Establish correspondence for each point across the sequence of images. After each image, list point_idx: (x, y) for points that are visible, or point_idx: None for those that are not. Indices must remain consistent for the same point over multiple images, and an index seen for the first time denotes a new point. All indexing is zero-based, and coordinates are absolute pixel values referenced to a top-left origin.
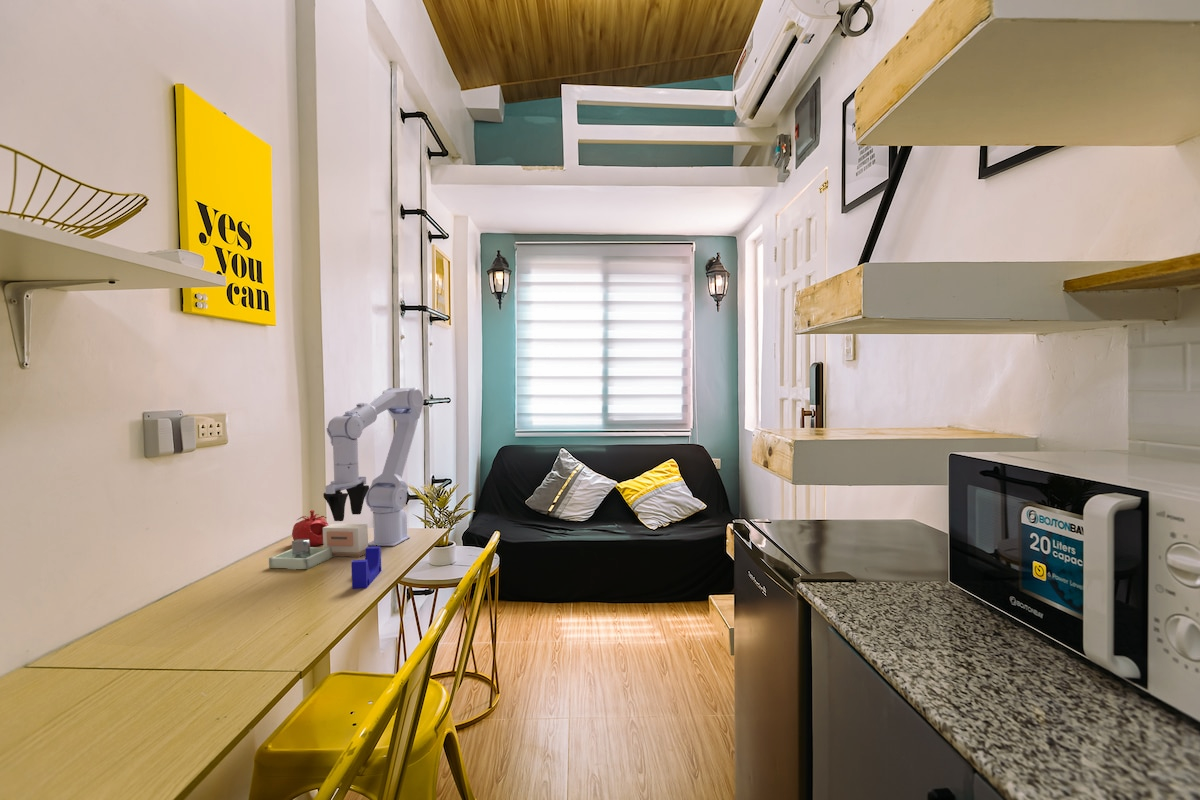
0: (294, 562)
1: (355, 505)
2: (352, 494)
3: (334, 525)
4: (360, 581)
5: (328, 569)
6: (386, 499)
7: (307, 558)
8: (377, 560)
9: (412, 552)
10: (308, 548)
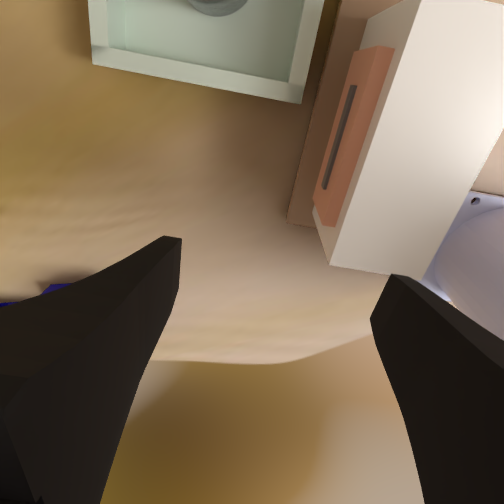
0: None
1: (410, 345)
2: (493, 426)
3: (475, 69)
4: None
5: (134, 162)
6: None
7: (109, 62)
8: None
9: (317, 351)
10: (202, 2)
